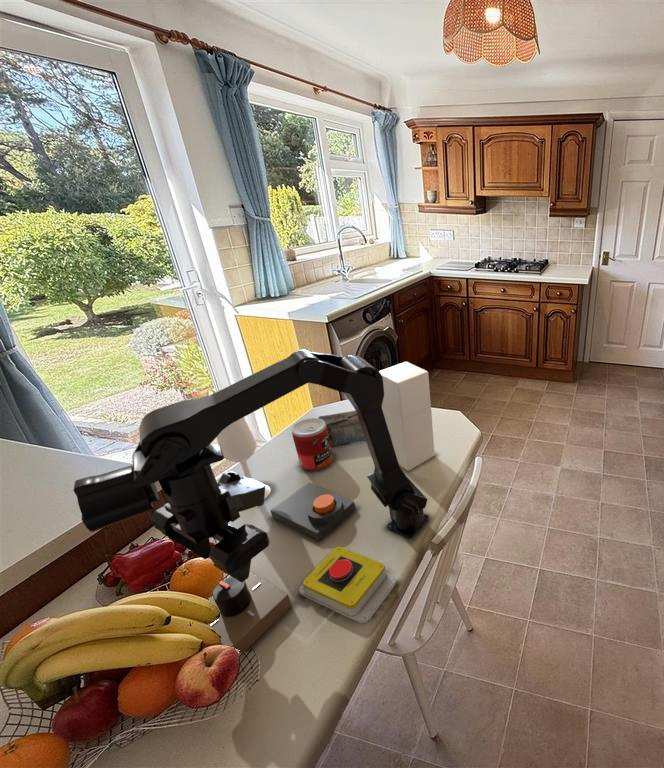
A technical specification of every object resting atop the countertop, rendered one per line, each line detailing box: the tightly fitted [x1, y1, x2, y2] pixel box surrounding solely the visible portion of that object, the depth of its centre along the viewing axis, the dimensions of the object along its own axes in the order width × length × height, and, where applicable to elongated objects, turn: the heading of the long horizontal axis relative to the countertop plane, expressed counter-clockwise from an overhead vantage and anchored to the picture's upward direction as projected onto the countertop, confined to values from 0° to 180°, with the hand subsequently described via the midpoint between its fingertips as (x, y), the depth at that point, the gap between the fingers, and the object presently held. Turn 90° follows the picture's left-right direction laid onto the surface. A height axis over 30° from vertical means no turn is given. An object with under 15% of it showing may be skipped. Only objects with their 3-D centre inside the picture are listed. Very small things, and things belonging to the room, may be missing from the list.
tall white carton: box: [378, 361, 436, 472], centre depth 102 cm, size 9×9×25 cm
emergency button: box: [298, 546, 398, 624], centre depth 72 cm, size 9×4×15 cm
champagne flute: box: [216, 416, 272, 500], centre depth 88 cm, size 7×7×24 cm
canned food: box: [291, 417, 334, 472], centre depth 102 cm, size 8×8×11 cm
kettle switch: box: [313, 494, 335, 514], centre depth 85 cm, size 4×4×2 cm
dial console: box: [208, 571, 292, 655], centre depth 67 cm, size 12×10×3 cm
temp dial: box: [212, 576, 251, 617], centre depth 66 cm, size 4×4×4 cm
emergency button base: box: [269, 482, 356, 542], centre depth 88 cm, size 14×10×4 cm
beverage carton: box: [318, 410, 365, 447], centre depth 114 cm, size 8×19×7 cm, turn 111°
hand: (226, 567), depth 64 cm, fingers open, 9 cm apart
